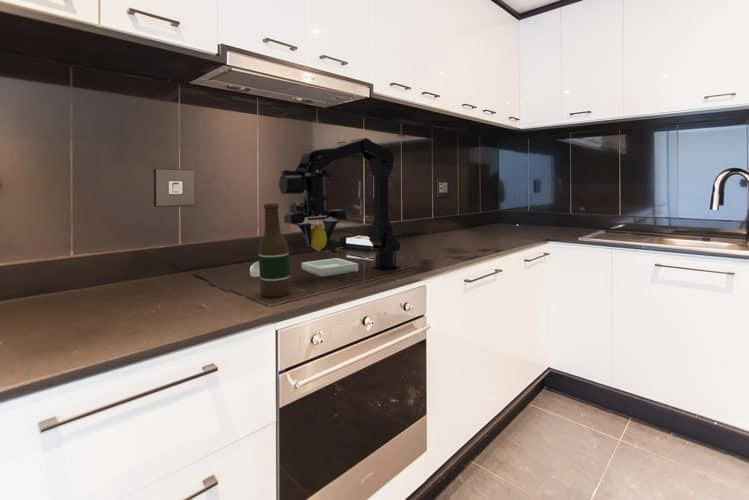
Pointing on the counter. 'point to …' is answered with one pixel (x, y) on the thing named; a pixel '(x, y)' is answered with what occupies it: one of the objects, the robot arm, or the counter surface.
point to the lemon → (318, 238)
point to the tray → (329, 267)
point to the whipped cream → (255, 270)
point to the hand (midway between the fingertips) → (318, 244)
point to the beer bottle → (273, 256)
